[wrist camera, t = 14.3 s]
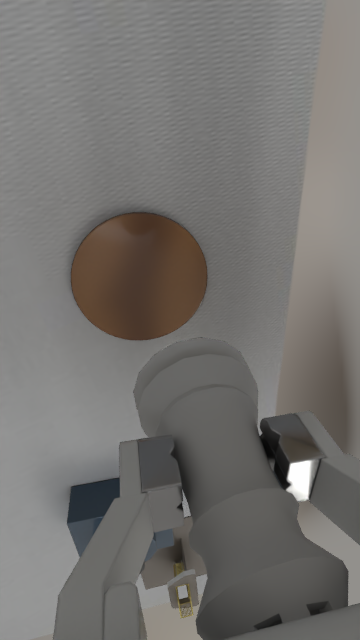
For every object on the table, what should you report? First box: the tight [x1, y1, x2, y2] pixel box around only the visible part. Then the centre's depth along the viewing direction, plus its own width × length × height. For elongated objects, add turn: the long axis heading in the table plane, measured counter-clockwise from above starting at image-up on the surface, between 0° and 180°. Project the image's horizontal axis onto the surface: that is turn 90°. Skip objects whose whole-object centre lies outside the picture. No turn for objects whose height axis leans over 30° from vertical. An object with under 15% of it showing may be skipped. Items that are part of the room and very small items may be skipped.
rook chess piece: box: [133, 337, 348, 640], centre depth 9 cm, size 4×4×8 cm
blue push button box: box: [67, 478, 174, 562], centre depth 38 cm, size 11×9×6 cm
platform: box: [141, 516, 207, 618], centre depth 46 cm, size 12×18×7 cm, turn 4°
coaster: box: [71, 212, 207, 340], centre depth 26 cm, size 11×11×1 cm
